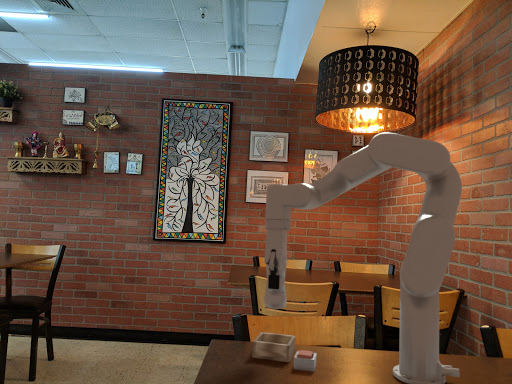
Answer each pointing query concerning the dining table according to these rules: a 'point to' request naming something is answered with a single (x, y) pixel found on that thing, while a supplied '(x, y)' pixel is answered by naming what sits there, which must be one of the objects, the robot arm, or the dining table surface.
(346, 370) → the dining table surface
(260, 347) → the bottle caddy
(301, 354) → the button
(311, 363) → the button housing
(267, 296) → the plastic bottle
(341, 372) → the dining table surface
